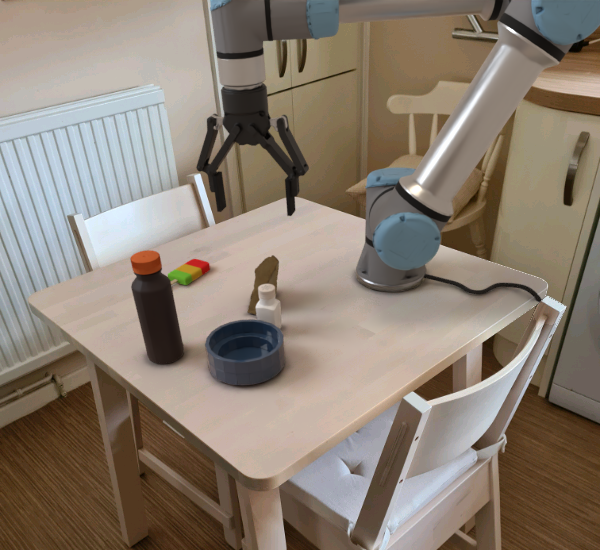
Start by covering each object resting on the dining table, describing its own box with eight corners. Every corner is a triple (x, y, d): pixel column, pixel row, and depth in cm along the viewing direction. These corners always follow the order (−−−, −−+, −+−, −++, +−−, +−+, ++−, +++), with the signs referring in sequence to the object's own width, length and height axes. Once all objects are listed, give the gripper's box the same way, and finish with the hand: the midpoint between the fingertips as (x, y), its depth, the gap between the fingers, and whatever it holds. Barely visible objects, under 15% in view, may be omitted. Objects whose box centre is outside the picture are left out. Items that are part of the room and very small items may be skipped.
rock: (261, 313, 122) (297, 289, 126) (237, 275, 120) (275, 252, 125) (240, 323, 132) (275, 301, 136) (218, 289, 130) (254, 267, 134)
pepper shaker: (257, 334, 120) (252, 291, 114) (264, 324, 123) (260, 281, 117) (276, 337, 119) (273, 293, 113) (282, 326, 122) (280, 283, 116)
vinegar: (168, 340, 120) (147, 244, 107) (191, 352, 116) (173, 254, 104) (140, 356, 116) (116, 258, 103) (164, 369, 112) (141, 269, 100)
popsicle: (212, 269, 143) (211, 262, 142) (168, 297, 133) (167, 290, 132) (194, 264, 146) (193, 257, 144) (150, 292, 136) (148, 284, 135)
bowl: (295, 349, 116) (293, 324, 112) (269, 393, 105) (267, 367, 102) (227, 339, 119) (224, 315, 116) (196, 381, 109) (191, 355, 106)
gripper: (323, 79, 100) (326, 206, 113) (183, 79, 106) (201, 200, 120) (311, 90, 95) (316, 223, 108) (163, 89, 101) (186, 215, 114)
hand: (256, 211), depth 114 cm, fingers open, 13 cm apart
